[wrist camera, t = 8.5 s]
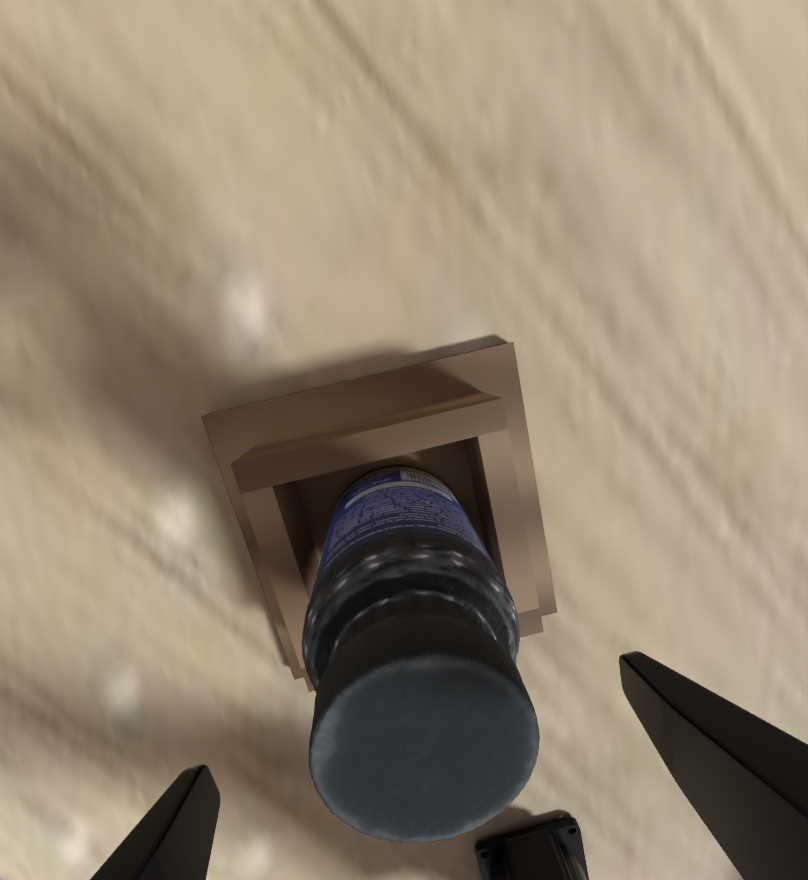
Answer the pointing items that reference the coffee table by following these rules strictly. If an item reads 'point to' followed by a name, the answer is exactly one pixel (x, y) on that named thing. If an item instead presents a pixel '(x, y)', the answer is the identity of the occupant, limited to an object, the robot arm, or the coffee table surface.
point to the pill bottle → (413, 666)
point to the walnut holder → (382, 444)
